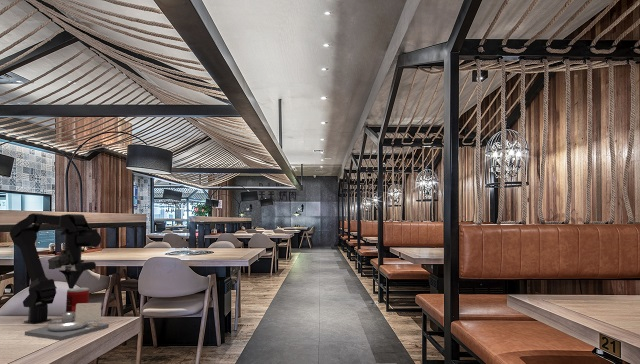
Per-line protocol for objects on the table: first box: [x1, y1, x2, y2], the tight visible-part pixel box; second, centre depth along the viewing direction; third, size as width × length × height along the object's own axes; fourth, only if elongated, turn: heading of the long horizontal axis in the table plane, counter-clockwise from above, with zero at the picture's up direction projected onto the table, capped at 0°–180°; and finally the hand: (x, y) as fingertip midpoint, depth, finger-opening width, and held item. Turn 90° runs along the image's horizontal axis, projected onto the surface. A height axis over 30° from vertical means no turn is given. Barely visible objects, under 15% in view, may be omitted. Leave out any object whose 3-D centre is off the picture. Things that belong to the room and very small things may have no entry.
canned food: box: [65, 287, 90, 316], centre depth 171 cm, size 8×8×11 cm
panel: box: [24, 321, 110, 341], centre depth 147 cm, size 18×18×1 cm
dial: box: [47, 302, 102, 331], centre depth 148 cm, size 16×12×8 cm
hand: (71, 288), depth 160 cm, fingers closed
